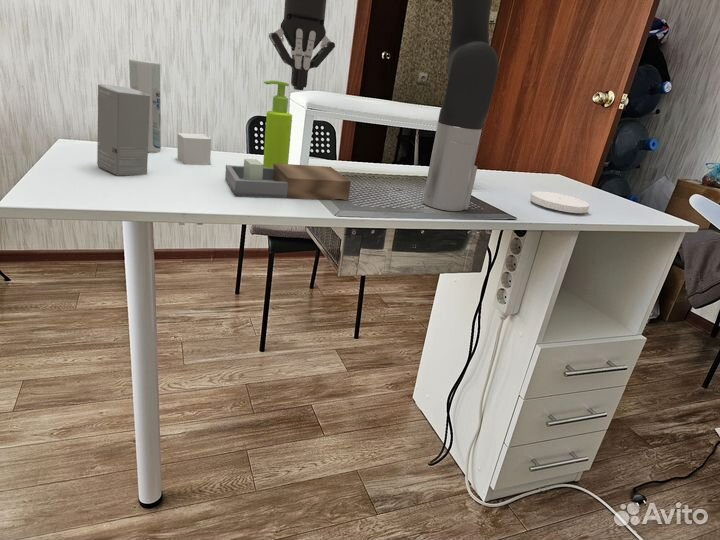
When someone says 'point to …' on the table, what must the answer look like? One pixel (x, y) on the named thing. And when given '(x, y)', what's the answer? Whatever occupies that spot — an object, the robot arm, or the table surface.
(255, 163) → the tile
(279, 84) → the soap dispenser
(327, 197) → the brown flat square block
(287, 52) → the robot arm
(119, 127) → the skincare box
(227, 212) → the table surface
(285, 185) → the box
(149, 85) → the spray can
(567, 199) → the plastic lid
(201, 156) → the white cube
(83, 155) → the table surface
